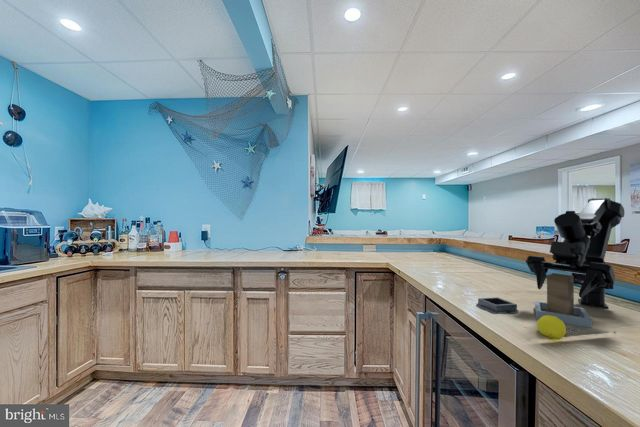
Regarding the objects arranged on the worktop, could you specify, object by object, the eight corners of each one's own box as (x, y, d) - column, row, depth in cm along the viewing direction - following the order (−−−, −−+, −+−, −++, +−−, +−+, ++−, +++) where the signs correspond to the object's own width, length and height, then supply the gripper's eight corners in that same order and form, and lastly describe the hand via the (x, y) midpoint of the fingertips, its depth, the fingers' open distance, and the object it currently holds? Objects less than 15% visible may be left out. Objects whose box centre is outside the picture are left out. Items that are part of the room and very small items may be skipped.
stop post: (553, 313, 81) (553, 272, 81) (573, 318, 77) (573, 275, 77) (547, 316, 78) (546, 274, 78) (567, 322, 75) (567, 277, 75)
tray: (535, 310, 85) (535, 300, 85) (583, 318, 79) (583, 307, 79) (536, 321, 76) (536, 310, 76) (591, 331, 70) (591, 319, 70)
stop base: (498, 304, 91) (498, 295, 91) (528, 316, 80) (528, 306, 80) (468, 306, 89) (468, 297, 89) (495, 318, 79) (495, 308, 79)
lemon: (565, 348, 62) (564, 325, 62) (535, 340, 66) (534, 319, 66) (567, 334, 67) (567, 313, 67) (539, 328, 71) (539, 308, 71)
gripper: (528, 230, 88) (510, 268, 82) (611, 233, 72) (597, 281, 66) (539, 253, 92) (523, 290, 86) (620, 261, 76) (608, 308, 70)
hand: (558, 292), depth 77 cm, fingers open, 9 cm apart
